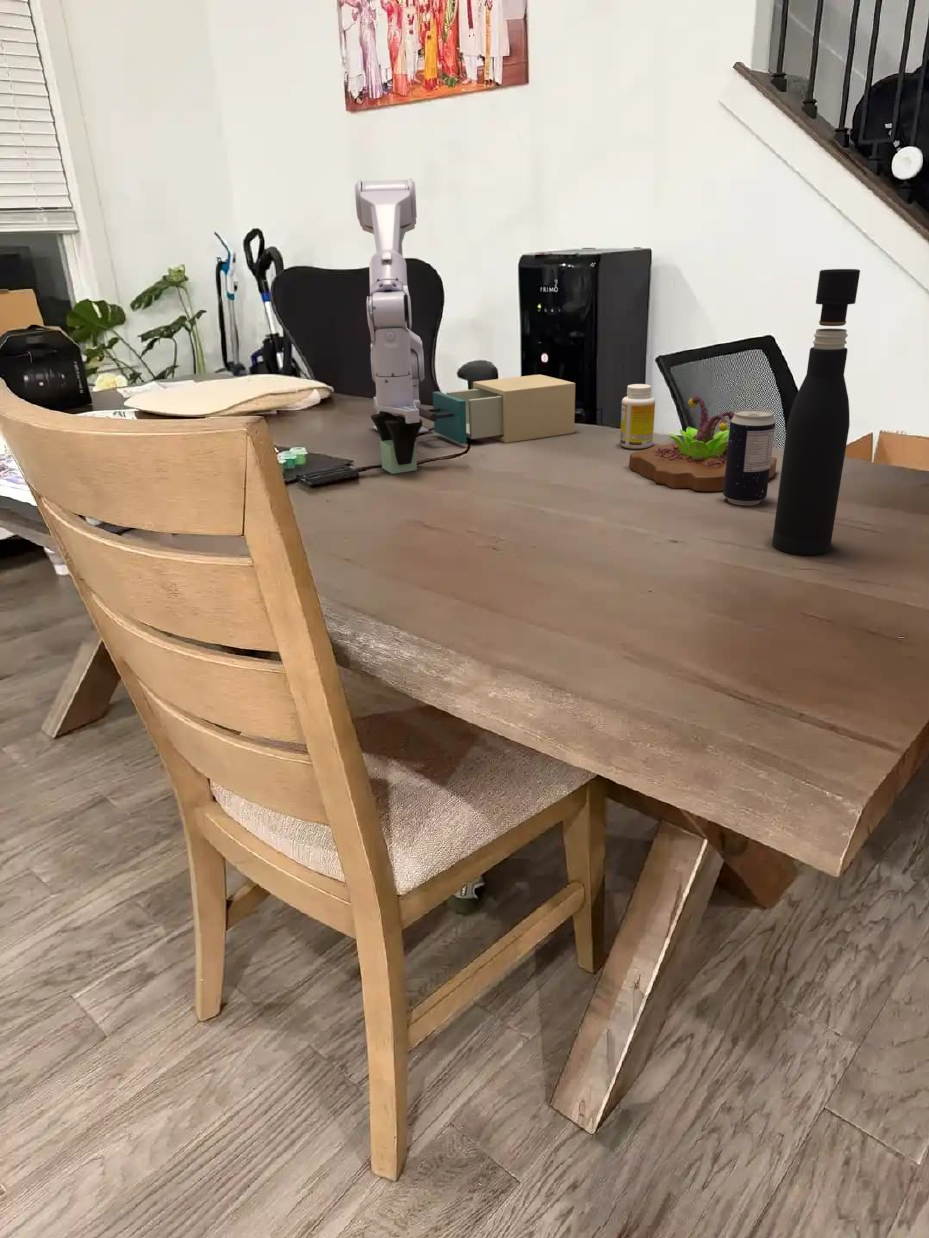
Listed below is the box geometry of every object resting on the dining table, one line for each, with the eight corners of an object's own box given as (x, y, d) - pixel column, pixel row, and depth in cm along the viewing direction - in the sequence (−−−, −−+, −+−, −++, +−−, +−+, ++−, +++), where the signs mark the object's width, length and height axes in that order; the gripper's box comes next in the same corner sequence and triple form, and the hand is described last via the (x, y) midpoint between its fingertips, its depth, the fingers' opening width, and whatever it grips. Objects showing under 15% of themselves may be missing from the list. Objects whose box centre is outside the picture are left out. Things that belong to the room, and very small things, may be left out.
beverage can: (766, 496, 117) (776, 409, 112) (765, 508, 112) (776, 417, 107) (723, 494, 119) (732, 407, 114) (721, 505, 114) (730, 416, 109)
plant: (705, 450, 142) (711, 382, 137) (796, 475, 126) (806, 399, 121) (608, 467, 134) (611, 396, 129) (693, 497, 118) (700, 416, 113)
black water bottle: (824, 559, 95) (868, 271, 82) (765, 550, 98) (800, 272, 86) (835, 542, 100) (878, 268, 87) (779, 534, 103) (813, 268, 90)
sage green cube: (381, 468, 138) (379, 441, 136) (406, 464, 140) (405, 438, 138) (391, 474, 134) (389, 446, 133) (417, 470, 136) (415, 443, 134)
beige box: (505, 443, 152) (504, 391, 148) (474, 430, 162) (472, 381, 158) (574, 433, 157) (575, 383, 153) (539, 421, 168) (540, 374, 164)
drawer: (437, 446, 147) (435, 404, 144) (412, 434, 156) (409, 394, 153) (527, 434, 154) (527, 393, 150) (498, 423, 163) (497, 384, 160)
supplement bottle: (659, 446, 146) (663, 385, 142) (638, 451, 143) (641, 389, 138) (634, 441, 150) (637, 382, 146) (613, 446, 147) (615, 386, 142)
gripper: (436, 377, 126) (439, 466, 132) (399, 366, 138) (404, 448, 144) (392, 382, 124) (398, 473, 129) (359, 370, 136) (365, 454, 141)
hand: (398, 460), depth 136 cm, fingers closed on sage green cube, 4 cm apart
